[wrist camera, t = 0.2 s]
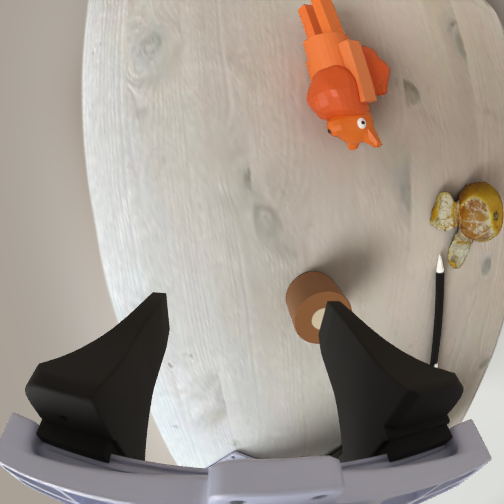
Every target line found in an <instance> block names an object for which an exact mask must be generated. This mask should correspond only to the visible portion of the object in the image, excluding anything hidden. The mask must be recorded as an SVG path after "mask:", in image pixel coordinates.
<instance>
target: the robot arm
mask: <svg viewBox="0 0 504 504" xmlns="http://www.w3.org/2000/svg"><path fill="white" fill-rule="evenodd" d="M169 330H170V328H169V318H168V308H167V297H166V293H155V292H153V293H152V294H151V295H150V296H148V297H147V298H146V299H145V300H144V301H143V302H142V303H141V304H140V305H139V306H138V307H137V308H136V309H135V310H134V311H133V312H132V313H130V314H129V315H128V316H127V317H126V318H125V319H124V320H122V321H121V322H120V323H119V324H118V325H116V326H115V327H114V328H113V329H111V330H110V331H109V332H107V333H106V334H104V335H103V336H101V337H100V338H98V339H96V340H95V341H93V342H91V343H89V344H88V345H86V346H84V347H82V348H80V349H78V350H76V351H74V352H72V353H69V354H67V355H65V356H62V357H59V358H57V359H53V360H50V361H47V362H44V363H40V364H39V365H38V366H37V368H36V369H35V371H34V373H33V375H32V376H31V378H30V380H29V382H28V384H27V385H26V388H25V392H26V396H27V397H28V400H29V401H30V403H31V404H32V406H33V407H34V409H35V410H36V411H37V413H38V414H39V416H40V417H41V418H42V421H41V423H40V425H39V424H37V423H36V422H34V421H32V420H30V419H28V418H26V417H23V416H21V415H19V414H16V413H12V415H11V417H10V419H9V421H8V423H7V425H6V427H5V429H4V432H3V434H2V436H1V438H0V465H1V466H2V467H3V468H4V469H5V470H7V471H8V472H9V473H10V474H11V475H13V476H14V477H15V478H17V479H18V480H19V481H20V482H22V483H23V484H25V485H27V486H29V487H30V488H32V489H35V490H37V491H38V492H41V493H43V494H45V495H47V496H49V497H51V498H54V499H56V500H58V501H60V502H62V503H65V504H419V503H421V502H424V501H426V500H428V499H430V498H432V497H435V496H437V495H439V494H441V493H443V492H445V491H448V490H450V489H452V488H453V487H456V486H458V485H459V484H461V483H462V482H464V481H465V480H466V479H468V478H469V477H470V476H472V475H473V474H474V473H476V472H477V471H478V470H479V469H481V468H482V467H483V466H484V465H486V464H487V463H488V462H489V461H490V460H491V456H490V454H489V452H488V450H487V448H486V446H485V444H484V442H483V440H482V438H481V436H480V434H479V432H478V430H477V428H476V426H475V424H474V422H473V421H472V420H471V419H470V420H467V421H465V422H462V423H460V424H457V425H455V426H453V427H452V428H450V429H449V428H448V426H447V424H448V423H449V421H450V420H449V418H448V416H447V414H448V413H449V412H450V411H451V410H452V408H453V407H454V406H455V405H456V403H457V402H458V401H459V399H460V398H461V396H462V393H463V386H462V384H461V383H460V381H459V379H458V378H457V376H456V375H455V373H452V372H449V371H446V370H443V369H439V368H436V367H434V366H431V365H429V364H427V363H424V362H422V361H420V360H418V359H416V358H414V357H412V356H410V355H408V354H406V353H405V352H403V351H401V350H400V349H398V348H396V347H395V346H393V345H392V344H390V343H389V342H388V341H386V340H385V339H383V338H382V337H381V336H380V335H378V334H377V333H376V332H374V331H373V330H372V329H371V328H370V327H368V326H367V325H366V324H365V323H364V322H363V321H362V320H361V319H359V318H358V317H357V316H356V315H355V314H354V313H353V312H352V311H351V310H350V309H348V308H347V307H346V306H345V305H344V304H343V303H341V302H340V301H327V304H326V308H325V312H324V315H323V319H322V323H321V326H320V330H319V334H318V337H319V343H320V349H321V354H322V357H323V360H324V363H325V366H326V369H327V372H328V376H329V379H330V382H331V385H332V388H333V391H334V395H335V399H336V404H337V410H338V415H339V422H340V429H341V439H342V449H343V463H340V460H339V459H336V458H334V457H331V456H307V457H295V458H278V459H255V458H252V457H250V456H247V455H244V454H241V453H239V452H233V453H231V454H230V455H228V456H227V457H225V458H223V459H222V460H220V461H219V462H217V463H215V464H214V465H212V466H210V467H209V468H207V469H205V468H193V467H183V466H175V465H167V464H160V463H154V462H148V461H145V449H146V438H147V428H148V420H149V413H150V406H151V400H152V394H153V390H154V386H155V383H156V379H157V376H158V373H159V370H160V366H161V363H162V360H163V357H164V354H165V350H166V346H167V341H168V335H169Z"/></svg>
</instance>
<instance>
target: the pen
mask: <svg viewBox="0 0 504 504" xmlns="http://www.w3.org/2000/svg"><path fill="white" fill-rule="evenodd" d="M443 300H444V267H443V262H442V258H441V254H439V258H438V263H437V268H436V299H435V319H434V333H433V344H432V353H431V361H430V365H431V366H434V367H436V368H437V367H438V363H437V361H438V354H439V346H440V338H441V328H442V316H443Z"/></svg>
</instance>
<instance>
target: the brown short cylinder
mask: <svg viewBox="0 0 504 504" xmlns="http://www.w3.org/2000/svg"><path fill="white" fill-rule="evenodd" d="M327 301H340V302H341V303H343V304H344V305H345V306H346V307H347V308H348V309H350V310H351V311H352V309H351V305H350V303H349V301H348V300H347V298H346V297H345V296H344V294H343V293H342V292H341V290H340V289H339V288H338V286H337V285H336V284H335V283H334V281H333V280H332V279H331V278H330V277H329V276H328V275H326V274H324V273H321V272H307V273H304V274H302V275H300V276H298V277H297V278H296V279H295V280H294V281H293V282H292V283H291V284H290V286H289V288H288V290H287V293H286V303H287V306H288V309H289V312H290V315H291V318H292V321H293V324H294V327H295V330H296V332H297V334H298V335H299V336H300V337H301V338H302V339H304V340H305V341H307V342H310V343H316V344H320V343H319V337H318V334H319V330H320V326H321V323H322V319H323V315H324V312H325V308H326V304H327Z"/></svg>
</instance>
